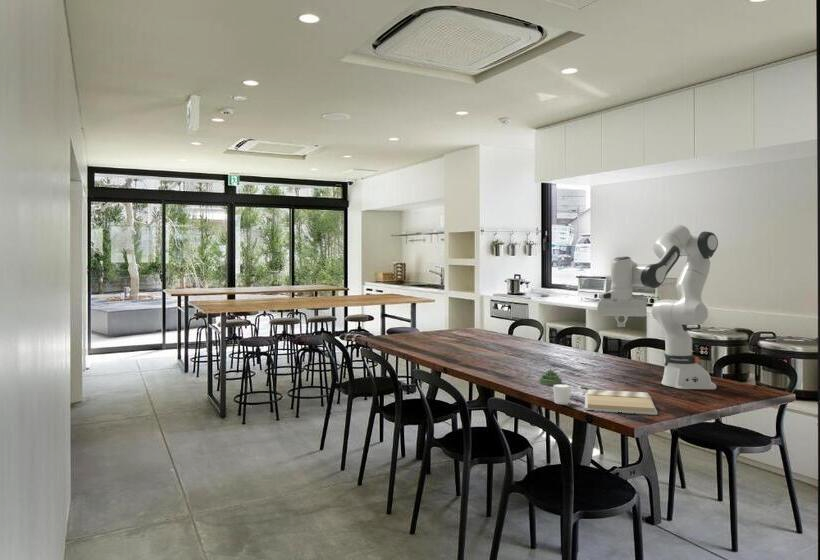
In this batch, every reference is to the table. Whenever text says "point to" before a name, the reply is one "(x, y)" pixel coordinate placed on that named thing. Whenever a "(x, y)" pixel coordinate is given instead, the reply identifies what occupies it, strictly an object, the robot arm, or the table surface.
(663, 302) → the robot arm
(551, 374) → the decorative artifact
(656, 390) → the table surface
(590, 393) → the tilted plank
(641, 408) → the cream square board
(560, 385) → the white cylinder
